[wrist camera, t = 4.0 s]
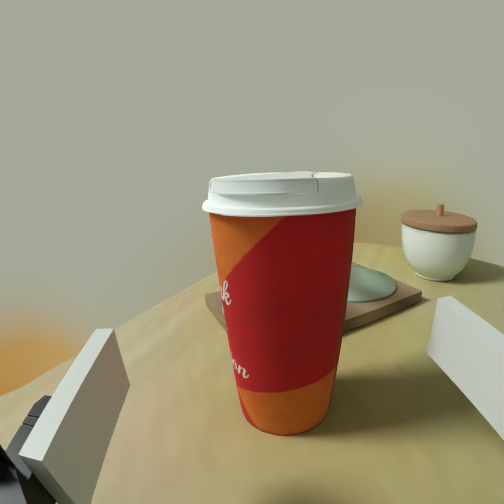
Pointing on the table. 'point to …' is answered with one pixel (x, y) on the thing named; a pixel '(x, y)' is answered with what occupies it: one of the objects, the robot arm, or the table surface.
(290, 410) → the paper cup
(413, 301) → the brown flat rectangular board
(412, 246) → the lidded jar
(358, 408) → the table surface
